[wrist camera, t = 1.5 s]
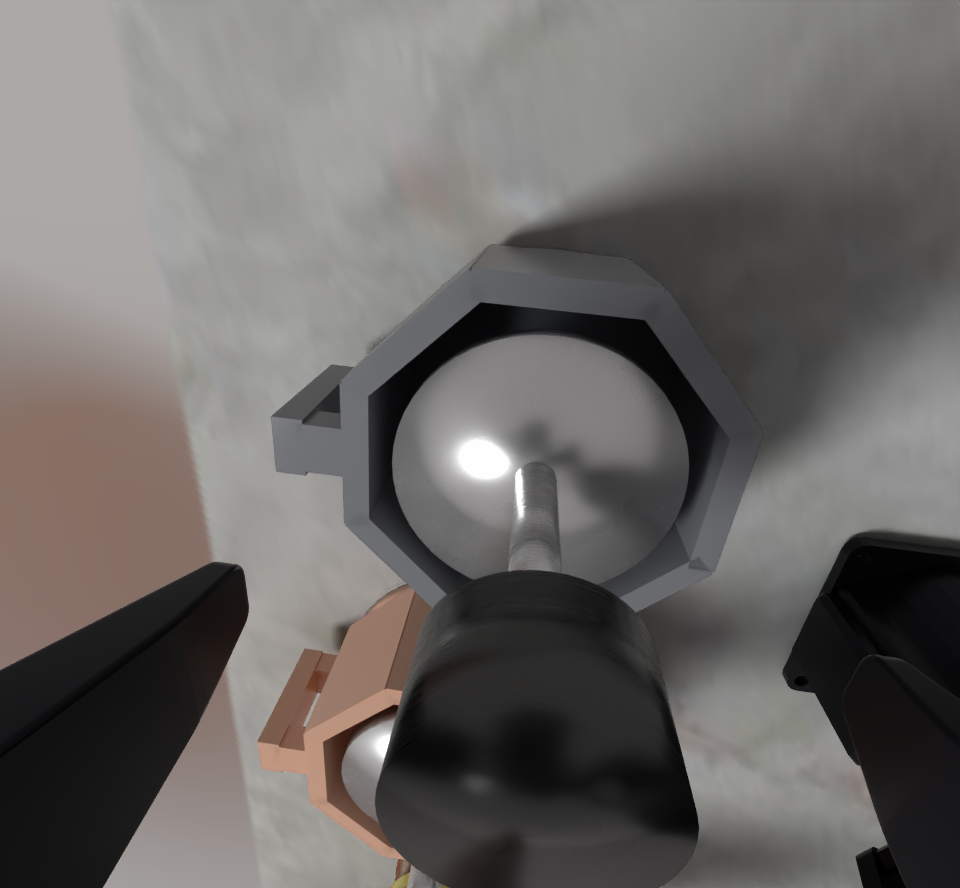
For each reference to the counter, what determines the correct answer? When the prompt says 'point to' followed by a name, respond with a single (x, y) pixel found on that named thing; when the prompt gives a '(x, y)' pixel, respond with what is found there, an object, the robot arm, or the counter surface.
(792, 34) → the counter surface
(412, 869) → the black-handled metal tamper
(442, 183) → the counter surface
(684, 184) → the counter surface
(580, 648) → the coffee tamper
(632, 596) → the grey octagonal cup
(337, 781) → the bowl
